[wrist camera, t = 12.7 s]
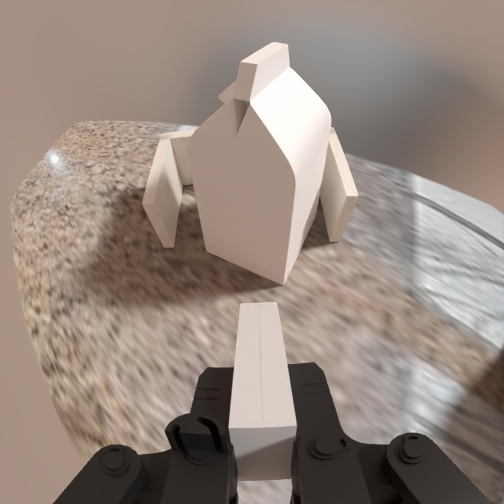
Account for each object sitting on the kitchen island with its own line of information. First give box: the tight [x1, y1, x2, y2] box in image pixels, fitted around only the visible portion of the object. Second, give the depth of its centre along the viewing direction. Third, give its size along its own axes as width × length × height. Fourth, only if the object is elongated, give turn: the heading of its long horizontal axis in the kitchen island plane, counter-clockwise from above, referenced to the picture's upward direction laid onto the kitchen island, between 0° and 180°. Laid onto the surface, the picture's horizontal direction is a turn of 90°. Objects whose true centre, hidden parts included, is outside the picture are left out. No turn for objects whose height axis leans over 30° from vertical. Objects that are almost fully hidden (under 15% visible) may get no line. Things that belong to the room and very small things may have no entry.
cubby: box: [142, 127, 359, 248], centre depth 39 cm, size 25×14×10 cm, turn 92°
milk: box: [187, 42, 331, 285], centre depth 29 cm, size 12×12×26 cm
